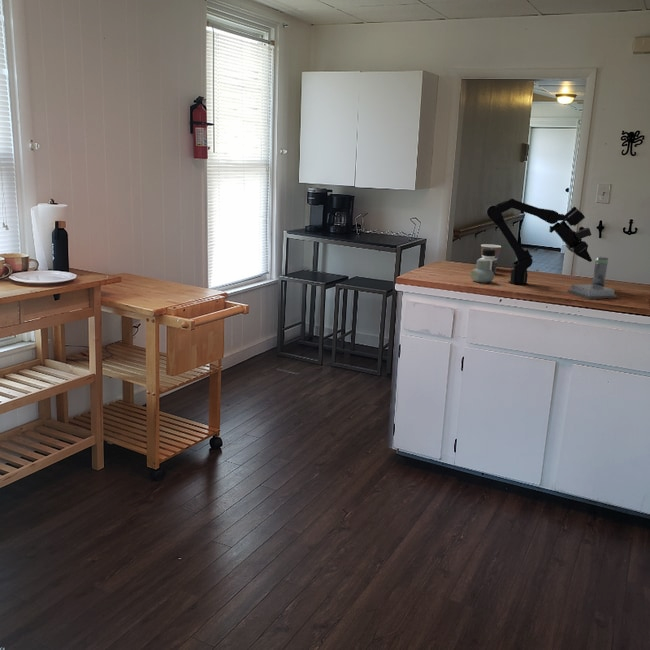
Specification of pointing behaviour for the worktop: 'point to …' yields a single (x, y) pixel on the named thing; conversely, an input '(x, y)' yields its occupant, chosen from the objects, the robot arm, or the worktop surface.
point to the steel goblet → (600, 271)
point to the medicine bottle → (490, 258)
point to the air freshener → (482, 272)
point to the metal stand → (592, 291)
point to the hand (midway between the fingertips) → (588, 259)
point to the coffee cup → (490, 246)
